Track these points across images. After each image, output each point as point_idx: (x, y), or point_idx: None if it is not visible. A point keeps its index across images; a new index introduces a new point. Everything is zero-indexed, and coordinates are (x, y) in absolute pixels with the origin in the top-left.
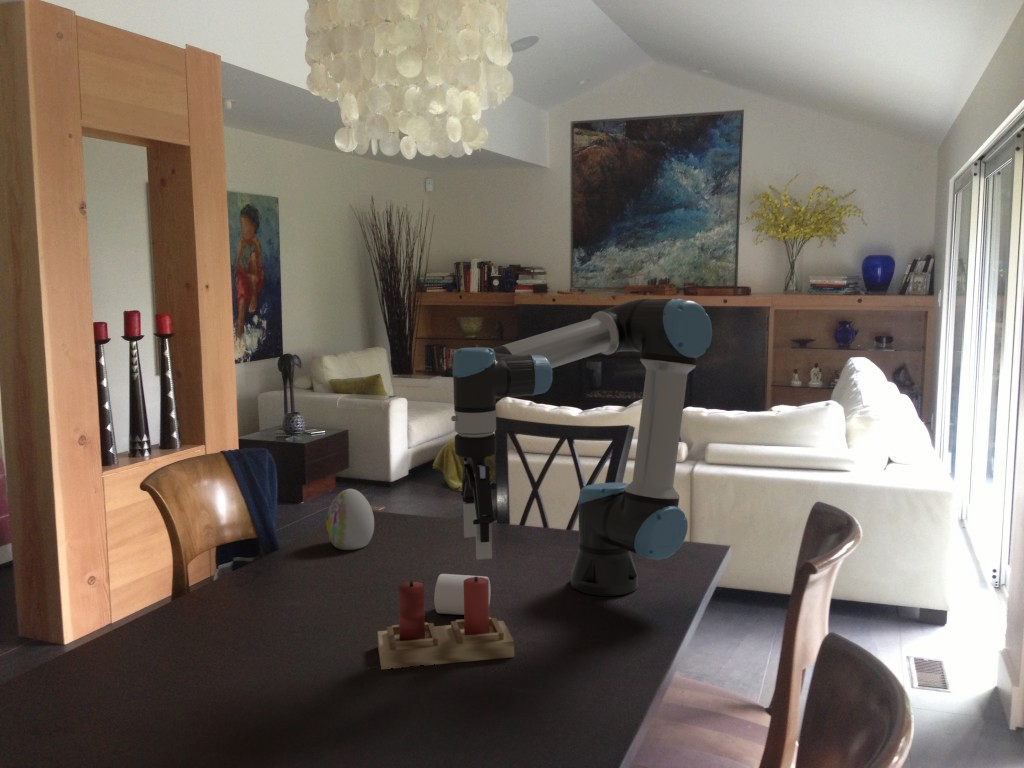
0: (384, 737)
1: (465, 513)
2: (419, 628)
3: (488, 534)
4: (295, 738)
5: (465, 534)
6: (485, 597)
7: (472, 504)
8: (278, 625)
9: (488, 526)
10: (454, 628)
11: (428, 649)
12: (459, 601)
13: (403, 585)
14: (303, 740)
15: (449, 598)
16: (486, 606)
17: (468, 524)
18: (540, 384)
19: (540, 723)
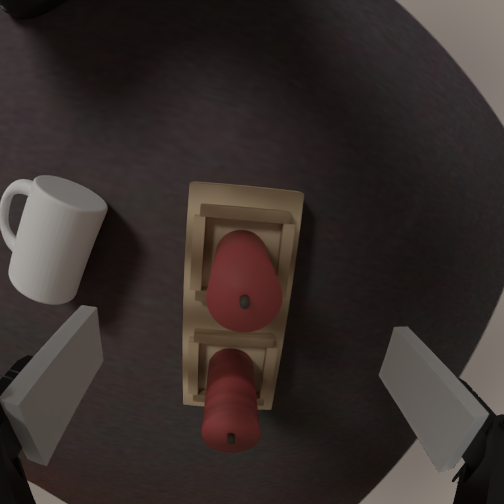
0: None
1: (63, 425)
2: (252, 373)
3: (476, 397)
4: (382, 451)
5: (98, 364)
6: (272, 266)
7: (31, 429)
8: (100, 458)
9: (494, 417)
10: None
11: (281, 349)
12: (87, 255)
13: (222, 445)
14: (389, 446)
15: (78, 275)
16: (267, 256)
17: (80, 378)
18: None
19: (478, 230)
